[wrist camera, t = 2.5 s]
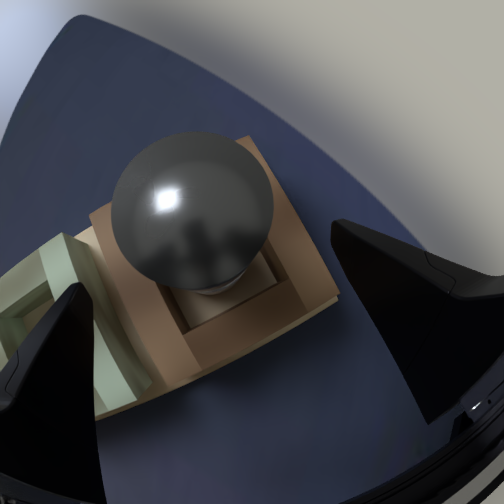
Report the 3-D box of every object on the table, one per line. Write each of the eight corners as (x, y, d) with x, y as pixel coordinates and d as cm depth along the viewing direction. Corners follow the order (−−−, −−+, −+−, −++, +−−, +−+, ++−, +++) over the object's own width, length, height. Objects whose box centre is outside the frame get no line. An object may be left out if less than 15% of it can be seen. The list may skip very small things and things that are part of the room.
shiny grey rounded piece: (255, 275, 17) (304, 237, 7) (197, 306, 17) (150, 318, 6) (224, 219, 18) (226, 111, 7) (168, 248, 17) (92, 176, 6)
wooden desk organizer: (333, 300, 19) (362, 299, 14) (58, 430, 15) (30, 451, 10) (249, 152, 20) (255, 117, 15) (-1, 297, 16) (-36, 294, 12)
